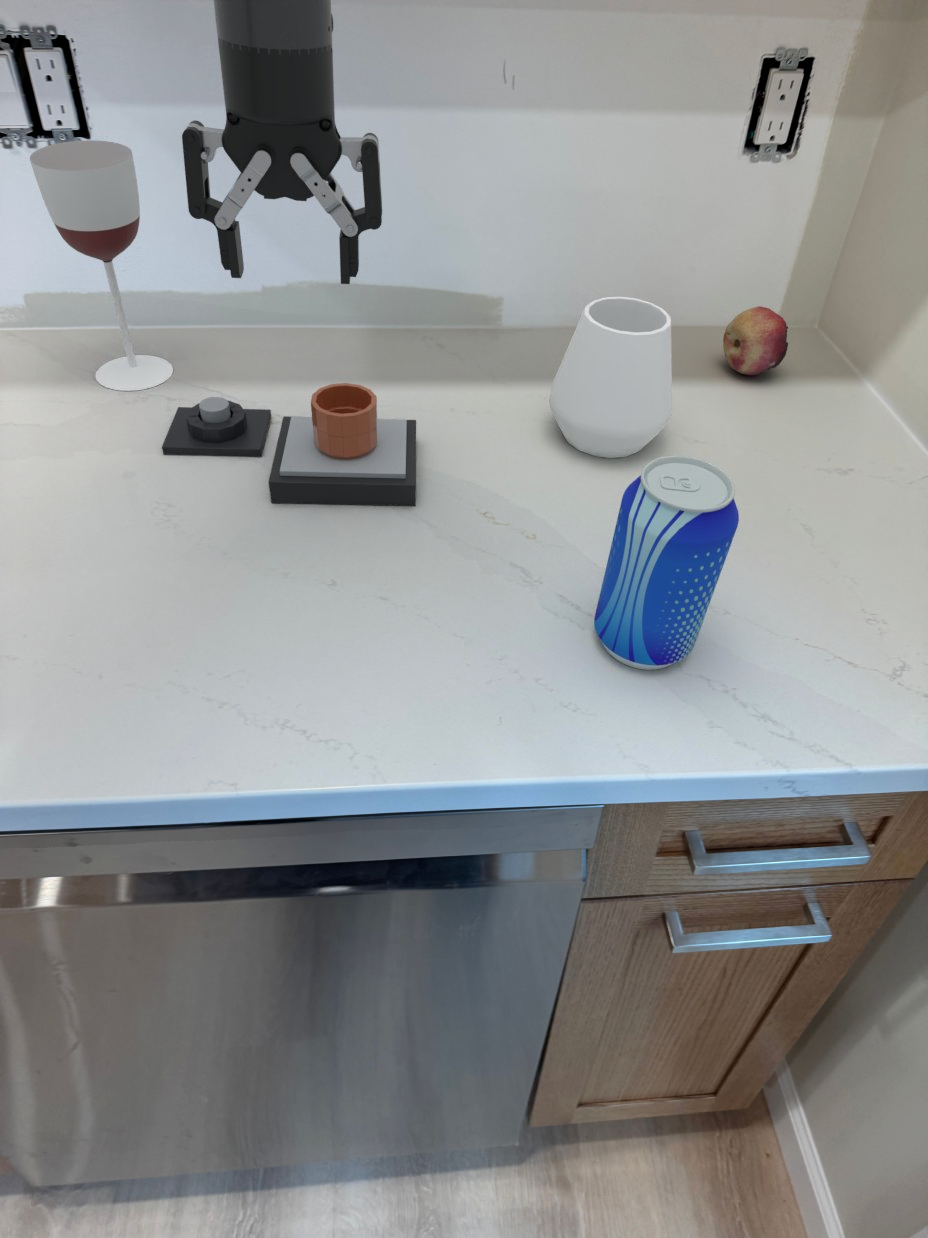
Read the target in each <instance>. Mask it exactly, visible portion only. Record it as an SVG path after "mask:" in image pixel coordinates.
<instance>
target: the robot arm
mask: <svg viewBox="0 0 928 1238" xmlns="http://www.w3.org/2000/svg"><path fill="white" fill-rule="evenodd" d="M213 7H214V8H213V10H214V17H215V26H216V35H217V43H218V44H217V45H218V53H219V62H220V71H221V80H222V89H223V90H222V91H223V97H224V106H225V108H224V109H225V117H226V118H225V126H224V128H223V129H222V128H216V127H209V126H205V125H204V124H203V123H202V122H201V121H199V120H191V121H190V122H189V124H188V125H187V126H186V128H185V129H184V130H183V132H182V134H181V141H182V152H183V164H184V174H185V186H186V196H187V197H186V198H187V208H188V209H187V210H188V213H189V215H190V216H191V217H192V218H193V219H195V220H205V221H207V222H209V223H211V224H212V225H213V226H214V227H215V229H216V233H217V240H218V248H219V256H220V263H221V265H222V268H223V269H224V271H230V277H231V278H232V279H242V278H243V274H244V271H245V270H244V269H245V267H244V266H245V265H244V264H245V263H244V255H243V247H242V239H241V228H240V221H239V220H236V218H237V217H238V215H239V214H240V212H241V210H242V209H243V208H244V206H245V205H246V203H247V202H248V200H249V199H250V197H251V196H252V194H253V193H254V192H255V193H257V194H259V195H261V196H263V199H264V200H277V199H282V198H287V199H290V200H293V201H297V202H307V201H308V199H311V198H313V197H315V199H316V200H317V202H318V203H319V205H320V206H321V207H322V209H324V211H325V212H326V214H328V215H330V216H331V218H332V219H333V221H334V222H335V223H336V225H337V226H338V228H339V229H340V231H339V237H338V240H339V241H338V242H339V267H340V268H339V269H340V273H339V274H340V284H341V285H350V284H351V278H357V275H358V273H359V268H360V245H359V244H360V243H359V238H360V237H359V236H360V235H361V233H363V232H365V231H368V230H374V231H375V230H378V229H379V228H381V226H382V222H383V200H382V199H383V197H382V182H381V181H382V179H381V163H380V143H379V138H378V137H377V135H376V134H375V133H373V132H366V133H365V134H364V135H363V136H361V137H357V136H356V137H355V136H354V137H353V136H352V137H351V136H349V137H348V136H346V137H345V136H344V137H343V136H341V135H340V132H339V131H338V128H337V124H336V116H335V113H336V112H335V87H334V86H335V85H334V84H335V83H334V82H335V81H334V53H333V32H334V16H333V13H332V0H213ZM219 148H223V150H224V152H225V154H226V155H227V156H228V158H229V159H230V160H231V162H232V163H233V164H234V166H235V167H236V169H238V171H239V172H240V173H239V175H238V176H237V178H236V179H235V182H234V183H233V185H232V186H231V188H230V189H229V191H228V192H227V194H226V196H225V197H224V199H223V201H220V200H217V199H216V198H213V197H211V187H210V175H209V174H210V173H209V172H210V171H209V163H210V162H212V161H213V160H214V159H215V157H216V155H217V149H219ZM342 156H346V158H348V159H349V161H350V164H351V167H352V169H353V170H354V171H355V172H358V173H361V174H362V186H363V201H364V206H363V207H360V208H358V209H355V208H354V206H353V205H352V203H351V202H350V200H349V199H348V197H347V196H346V194H345V193H344V191H343V187H341V185H340V184H339V182H338V181H337V179H336V178H335V177H334V175H333V174H332V172H333V170H334V168H335V167H336V166H337V164H338V163H339V161H340V159H341V158H342Z"/></svg>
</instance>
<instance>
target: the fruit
mask: <svg viewBox="0 0 928 1238" xmlns="http://www.w3.org/2000/svg"><path fill="white" fill-rule="evenodd" d="M788 329H789V326H788V325H787V323H786V321H785V319H784V317H782V316H781V315H780V314H778V313H777V312H776V311H774V310H772V309H771V308H770V307H769V308H768V307H764V306H758V305H757V306H755V307H751V308H748V309H746V310H743V311H742V312H739V313H738V314H737V315H736V316H735V317H734V318H733V319H732V320H731V321H730V322H729V323H728V324H727V326H726V328H725V331H724V333H723V339H722V344H723V345H722V349H723V354H724V358H725V359H726V361H727V363H728V365H730V367H731V368H732V369H733V370H734V371H736V372H738V373H739V374H742V375H745V376H758V375H760V374H762V373H763V372H765V371H770V370H772V369H775V368H777V367H779V365H780V364H781V363H782V361H783V360H784V359H785V358H786V355H787V351H788V347H789V342H787V339H788Z"/></svg>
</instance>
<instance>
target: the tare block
mask: <svg viewBox="0 0 928 1238" xmlns="http://www.w3.org/2000/svg"><path fill="white" fill-rule="evenodd" d="M226 400H227V401H228V402H229V407H230V413H231V417H230V419H228V420H227V421H225V422H221V423H206V422H204V421H203V420H202V418H201V413H200V408H199V404H200V402H199V403H197V404H195V405H193V406H191V407H189V406H188V407H187V406H178V407H177V410H176V412H175V413H174V416H173V419H172V420H171V423H170V426H169V428H168V431H167V434H166V436H165V438H164V441H163V443H162V446H161V451H162V454H163V455H178V456H179V455H182V456H183V455H185V456H219V457H220V456H221V457H223V456H226V457H262V456H263V452H264V448H265V445H266V444H265V443H266V440H267V436H268V433H269V428H270V423H271V419H272V410H271V409H264V408H262V409H261V408H244V407H242V405H241V404H240V403H237V402H234V401H232V400H228V399H226Z"/></svg>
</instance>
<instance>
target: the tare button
mask: <svg viewBox="0 0 928 1238" xmlns="http://www.w3.org/2000/svg"><path fill="white" fill-rule="evenodd" d="M227 400H228V399H226V398H224V397H222V396H209V397H207V398H204V399H202V400H201V401H200V402H199V403H200V404H199V408H200V413H201V418H202V420H203V421H204V422H206V423H221V422H225V421H227V420H228V419H230V417H231V413H230V407H229V402H228V401H227Z"/></svg>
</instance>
